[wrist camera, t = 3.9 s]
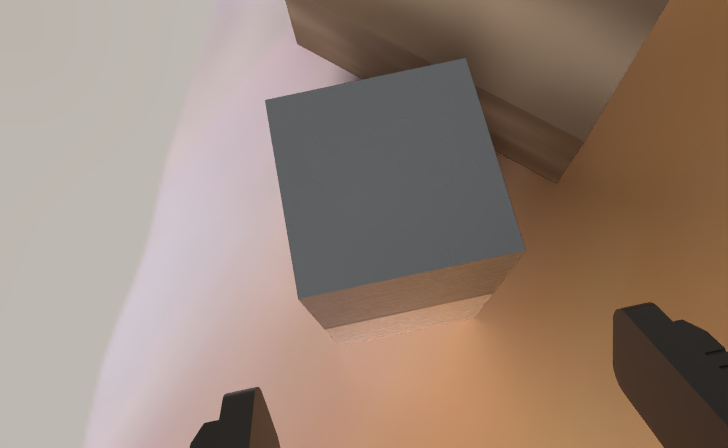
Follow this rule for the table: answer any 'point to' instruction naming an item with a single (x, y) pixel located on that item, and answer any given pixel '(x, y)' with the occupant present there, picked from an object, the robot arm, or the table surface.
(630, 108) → the table surface
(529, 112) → the walnut stand
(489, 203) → the block
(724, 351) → the robot arm
